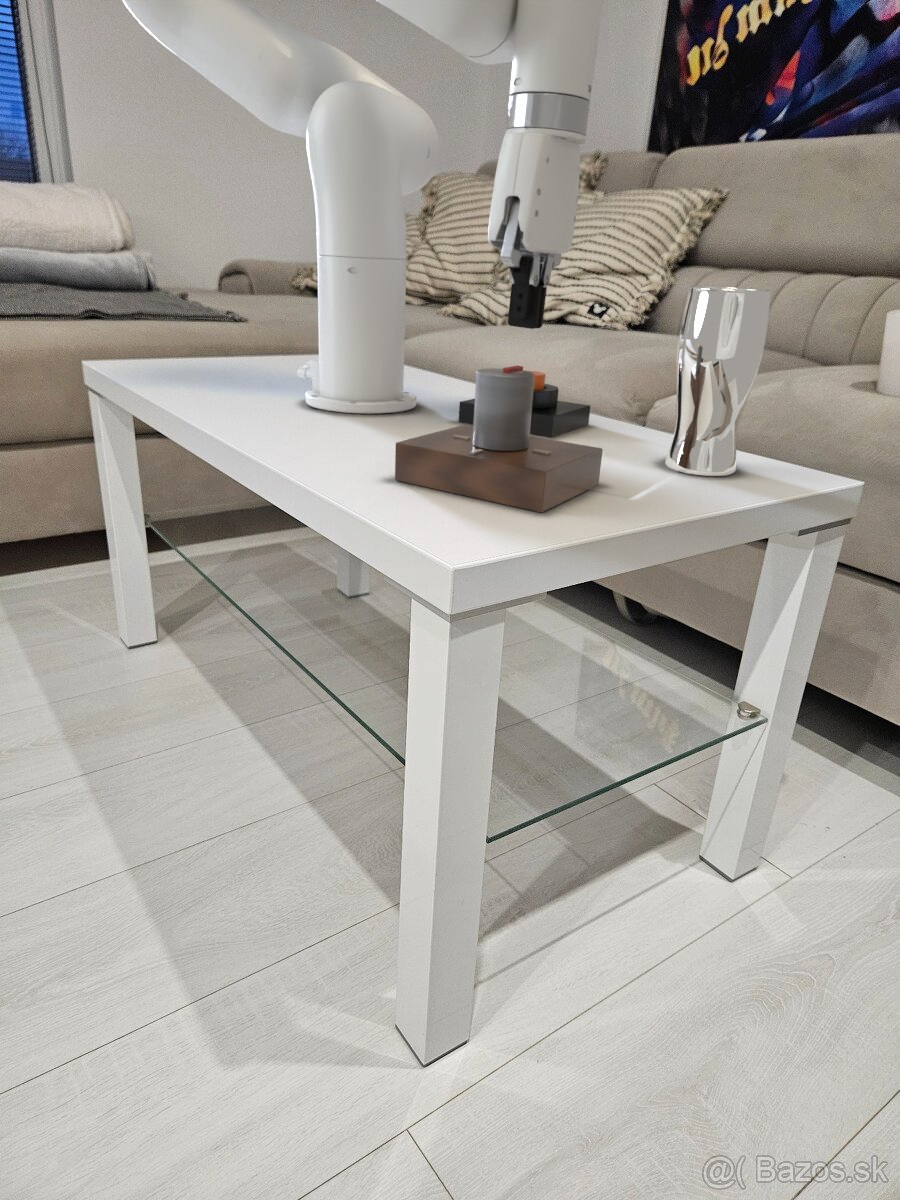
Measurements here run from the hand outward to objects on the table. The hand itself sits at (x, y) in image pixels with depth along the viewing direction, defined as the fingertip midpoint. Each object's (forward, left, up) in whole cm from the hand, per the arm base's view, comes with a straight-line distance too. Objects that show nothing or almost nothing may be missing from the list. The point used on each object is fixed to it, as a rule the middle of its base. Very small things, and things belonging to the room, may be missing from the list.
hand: (524, 326), depth 85 cm
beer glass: (+22, -6, -10) cm, 25 cm away
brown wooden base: (+11, -23, -10) cm, 27 cm away
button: (+1, 0, -6) cm, 6 cm away
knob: (+11, -23, -7) cm, 26 cm away
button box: (+1, 0, -10) cm, 10 cm away
